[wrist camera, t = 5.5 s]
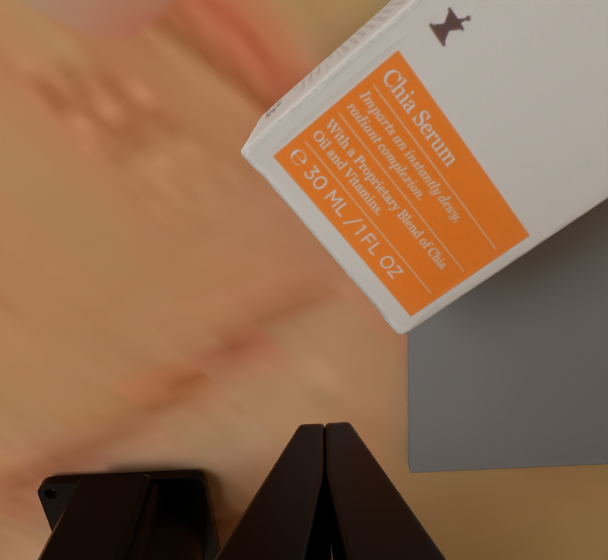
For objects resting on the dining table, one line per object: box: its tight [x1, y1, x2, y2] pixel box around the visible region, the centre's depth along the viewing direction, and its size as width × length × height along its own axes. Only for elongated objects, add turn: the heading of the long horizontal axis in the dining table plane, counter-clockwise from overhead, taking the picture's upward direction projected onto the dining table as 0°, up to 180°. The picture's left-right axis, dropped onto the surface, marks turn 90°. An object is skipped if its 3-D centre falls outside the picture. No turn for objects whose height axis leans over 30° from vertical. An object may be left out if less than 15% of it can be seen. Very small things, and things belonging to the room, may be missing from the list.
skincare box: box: [241, 0, 608, 334], centre depth 13 cm, size 6×4×12 cm
